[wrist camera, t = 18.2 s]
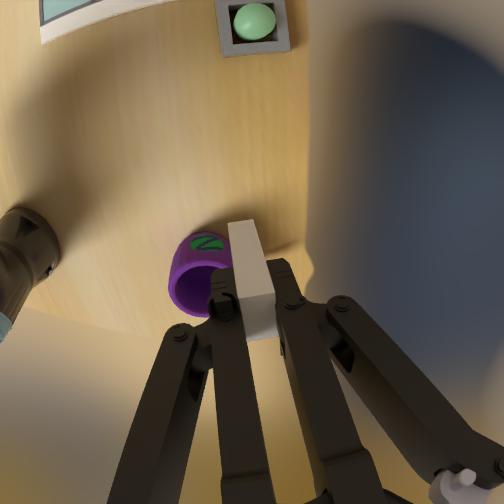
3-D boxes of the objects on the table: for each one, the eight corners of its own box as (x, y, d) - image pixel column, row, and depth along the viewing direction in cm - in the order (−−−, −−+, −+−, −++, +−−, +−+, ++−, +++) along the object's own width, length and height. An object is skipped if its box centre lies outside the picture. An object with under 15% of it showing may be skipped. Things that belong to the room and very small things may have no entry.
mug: (173, 280, 55) (169, 318, 47) (172, 225, 49) (166, 258, 41) (265, 282, 58) (275, 319, 50) (275, 229, 52) (289, 262, 44)
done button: (234, 43, 34) (237, 38, 30) (230, 12, 31) (233, 4, 27) (270, 40, 34) (277, 36, 30) (266, 9, 32) (273, 2, 28)
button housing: (221, 58, 36) (222, 56, 33) (214, 3, 31) (215, -3, 28) (284, 52, 36) (290, 50, 33) (278, -1, 31) (283, -7, 28)
